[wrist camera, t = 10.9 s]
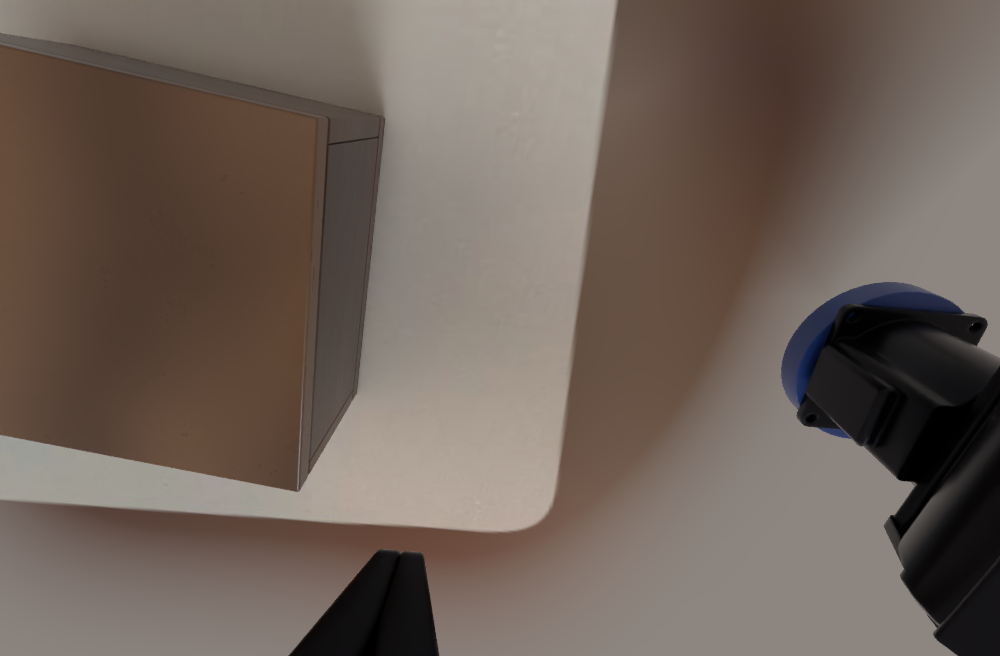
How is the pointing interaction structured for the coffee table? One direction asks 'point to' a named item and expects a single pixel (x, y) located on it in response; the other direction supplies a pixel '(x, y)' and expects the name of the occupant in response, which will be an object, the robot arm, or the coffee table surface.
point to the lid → (157, 269)
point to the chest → (342, 225)
